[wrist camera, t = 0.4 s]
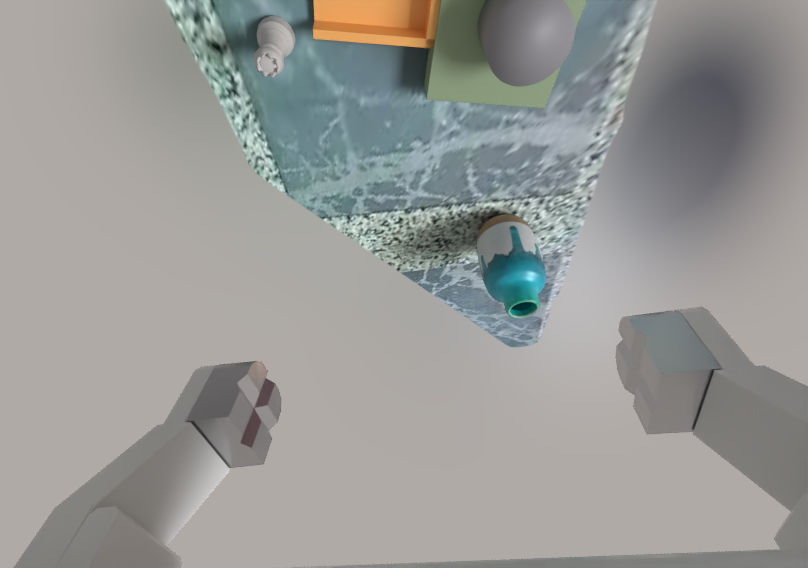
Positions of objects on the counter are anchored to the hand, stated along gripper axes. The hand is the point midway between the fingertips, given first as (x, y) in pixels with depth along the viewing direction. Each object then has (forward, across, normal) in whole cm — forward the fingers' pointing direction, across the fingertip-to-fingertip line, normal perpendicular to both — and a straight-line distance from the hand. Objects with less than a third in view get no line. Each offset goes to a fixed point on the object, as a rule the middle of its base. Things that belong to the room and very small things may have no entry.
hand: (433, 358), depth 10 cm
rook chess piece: (+52, +18, -4) cm, 55 cm away
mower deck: (+53, -3, -4) cm, 53 cm away
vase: (+64, -8, +34) cm, 73 cm away
